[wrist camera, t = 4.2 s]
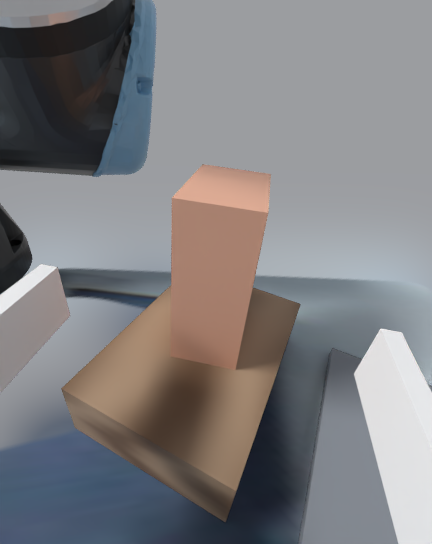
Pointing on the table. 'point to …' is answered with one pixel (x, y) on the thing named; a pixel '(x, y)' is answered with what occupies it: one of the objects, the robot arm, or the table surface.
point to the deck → (183, 400)
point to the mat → (344, 468)
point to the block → (215, 261)
